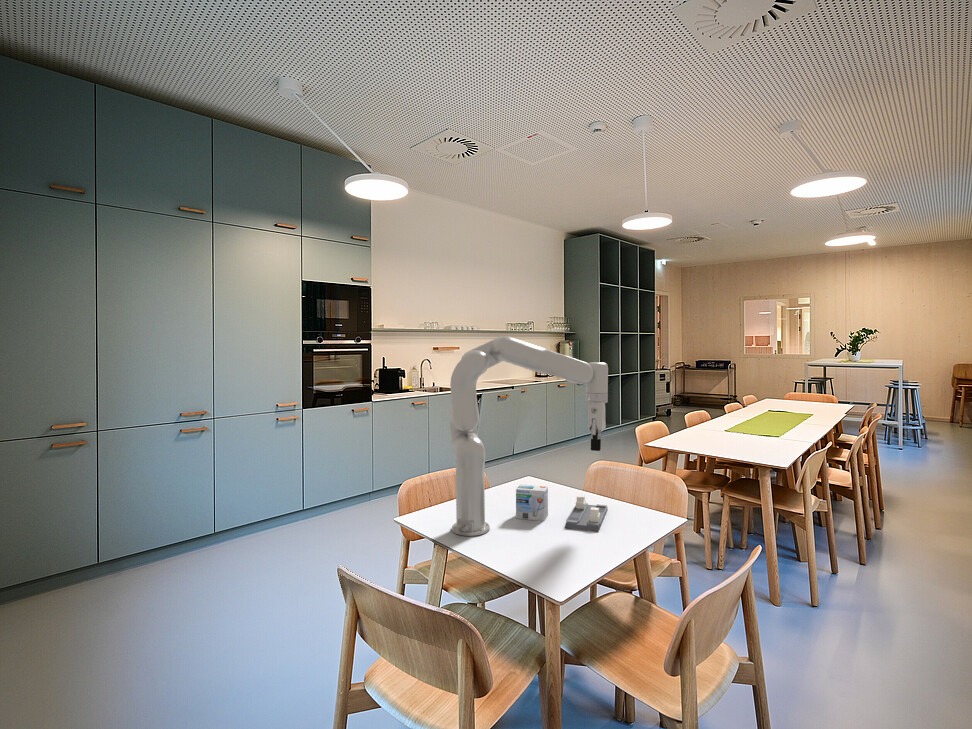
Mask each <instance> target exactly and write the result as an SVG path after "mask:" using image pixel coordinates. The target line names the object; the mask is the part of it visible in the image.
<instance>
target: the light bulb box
mask: <svg viewBox="0 0 972 729" xmlns="http://www.w3.org/2000/svg"><path fill="white" fill-rule="evenodd" d="M548 516H549V486H548V485H536V484H535V485H532V484H531V485H529V484H519V485H518V487H516V489H515V519H519V520H529V521H539V522H545V521H546V519H547V518H548Z"/></svg>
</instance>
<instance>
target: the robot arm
mask: <svg viewBox="0 0 972 729" xmlns="http://www.w3.org/2000/svg"><path fill="white" fill-rule="evenodd" d="M503 362H505V363H508V364H511V365H514V366H517V367H521V368H524V369H525V370H526V369H527V370H530V371H532V372H535V373H539V374H544V375H550V376H551V375H552V376H553V377H554V376H555V377H559V378H561V379H563V380H565V381H566V382H568V383H572V384H577V385H585V402H586V403H588V407H587V412H588V413H587V429H588V431H589V432H590V435H591V436H590V437H591V438H590V451H593V452H595V451H596V452H600V451H601V449H602V447H601V445H602V442H601V441H602V439H601V436H602V435H601V432H604V430H605V429H606V427H607V426H606V404H607V403H608V402H609V401H608V399H609V393H608V392H609V390H608V389H609V386H608V385H609V384H608V383H609V377H608V376H609V367H608V365H609V364H608V363H606V362H598V361H596V362H595V361H593V362H592V361H591V362H586V361H583V360H580V359H577V358H574V357H571V356H568V355H565V354H562V353H559V352H556V351H553V350H550V349H548V348H545V347H542V346H539V345H535V344H533V343H529V342H526V341H523V340H520V339H517V338H516V337H512V336H506V335H505V336H498V337H495V338H494V339H492V340H490V341H488V342H485V343H483V344H482V345H479V346H477V347H475V348H472V349H470V350H468V351H466V352H465V353H464V354H463V355H462V357H461V358H460V360H459V361H458V363H456V365H455V367H454V369H453V371H452V374H451V376H450V397H451V398H450V399H451V407H450V410H449V414H448V416H449V417H448V420H449V429H450V436H451V444H452V449H453V451H454V454H455V502H456V504H455V508H456V509H455V511H456V512H455V513H456V514H455V516H456V518H455V519H456V522H455V523H453V525H451V531H452V532H453V533H454V534H457V535H460V536H465V537H474V536H475V537H476V536H482V535H484V534H486V533H488V532H489V531H490V528H491V527H490V524H489V523H488V522H487V521H485V520H486V511H485V509H486V506H485V505H486V504H485V500H486V499H485V498H486V497H485V465H486V463H485V462H486V449H485V445H484V443H483V442H482V439H480V438H479V432H478V426H479V423H480V413H479V411H480V410H479V406H478V397H477V383H478V380H479V378H480V376H482V375H483V374H485V373H486V372H487V370H488V369H490V368H492V367H494V366H496V365H498V364H500V363H503Z"/></svg>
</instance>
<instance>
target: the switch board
mask: <svg viewBox="0 0 972 729" xmlns="http://www.w3.org/2000/svg"><path fill="white" fill-rule="evenodd" d="M591 507H594V508H599V513H600V520H599V523H596V522H589V516H590V509H591ZM608 510H609V509H608V504H588V503H587V502H586V506H585V508H584V509H579V508H576V504H575V505H574V507H573V508H572V510H571V512H570V513H569V515H568V516H567V518H566V519H565V520H566V522H565V528H566V529H571V530H572V529H573V530H579V531H580V530H581V531H590V532H591V531H592V532H597V533H598V532H600V530H601V527H602V524H603V522H604V520H605V517H606V516H607V513H608Z"/></svg>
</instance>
